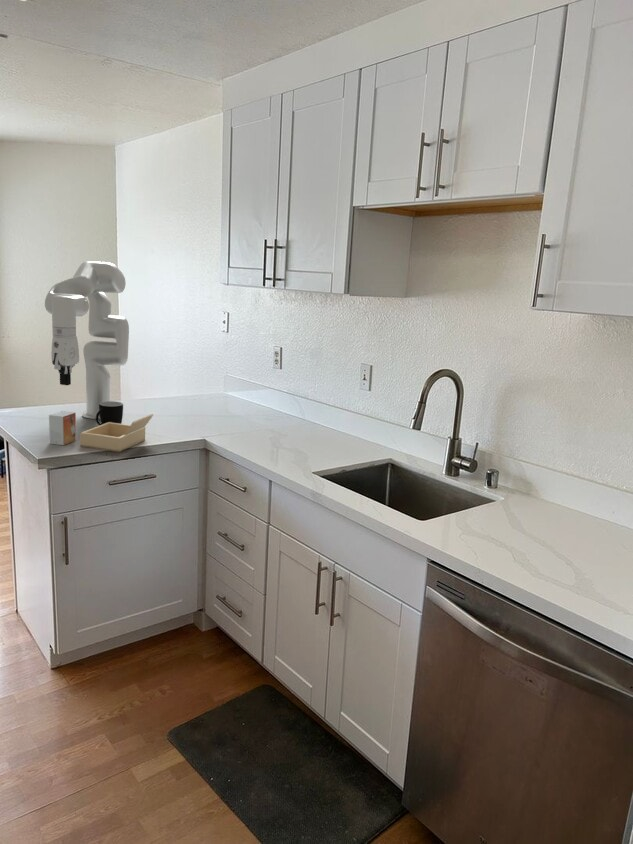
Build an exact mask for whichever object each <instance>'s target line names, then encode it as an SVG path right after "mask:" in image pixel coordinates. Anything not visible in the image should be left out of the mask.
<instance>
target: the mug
mask: <svg viewBox="0 0 633 844" xmlns="http://www.w3.org/2000/svg"><path fill="white" fill-rule="evenodd" d="M99 414H100V419H98V417H99ZM123 415H124V403H123V402H121V401H115V400H114V401H112V400H110V401H106V402H101V403H99V411H98V413H97V414H96V419H95V422H96V423H97V425H98V426H100V425H102V424H105V423H108V422H112V423H119V424H123V423H122V422H123V417H124V416H123Z"/></svg>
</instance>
